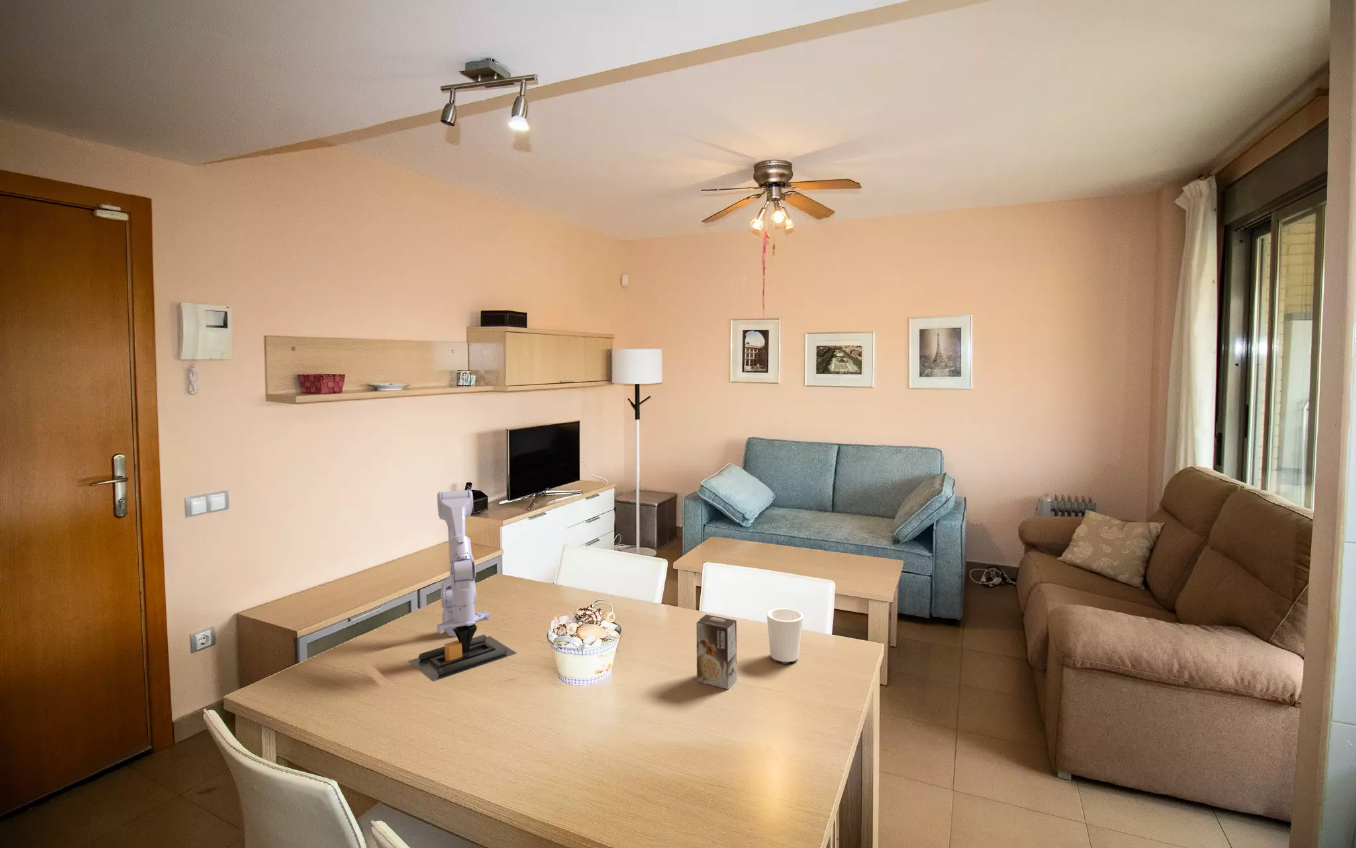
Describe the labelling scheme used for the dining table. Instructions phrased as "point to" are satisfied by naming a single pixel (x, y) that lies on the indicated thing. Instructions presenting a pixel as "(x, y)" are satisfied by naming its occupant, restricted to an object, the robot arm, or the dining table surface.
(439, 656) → the plate
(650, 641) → the dining table surface
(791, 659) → the cup
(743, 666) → the dining table surface
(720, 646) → the coffee box
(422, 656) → the grey rails and frame
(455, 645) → the orange rectangular box
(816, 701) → the dining table surface
